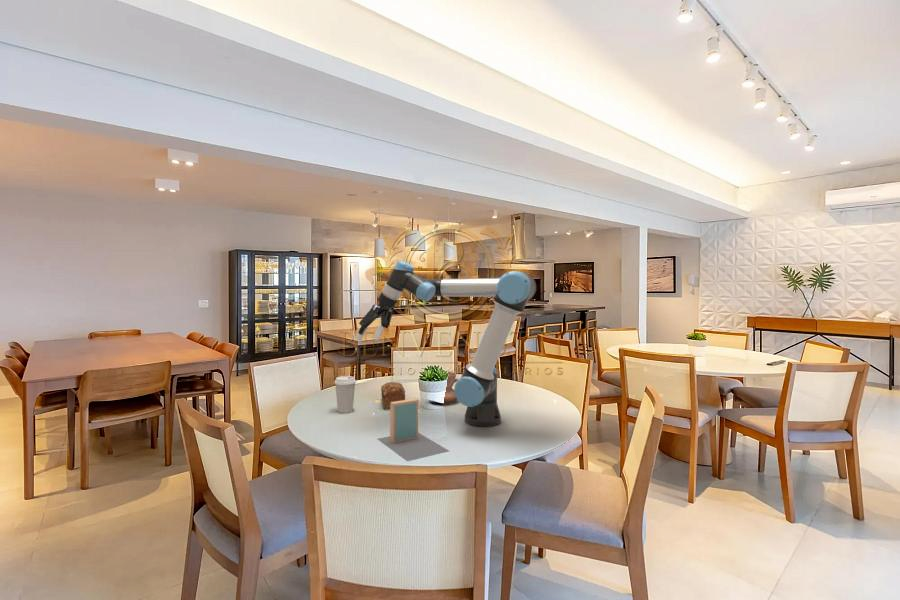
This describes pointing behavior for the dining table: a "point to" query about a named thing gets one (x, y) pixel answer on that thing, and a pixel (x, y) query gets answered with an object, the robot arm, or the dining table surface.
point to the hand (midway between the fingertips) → (366, 339)
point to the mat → (414, 447)
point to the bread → (392, 393)
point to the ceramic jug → (450, 388)
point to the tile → (403, 420)
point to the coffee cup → (345, 393)
